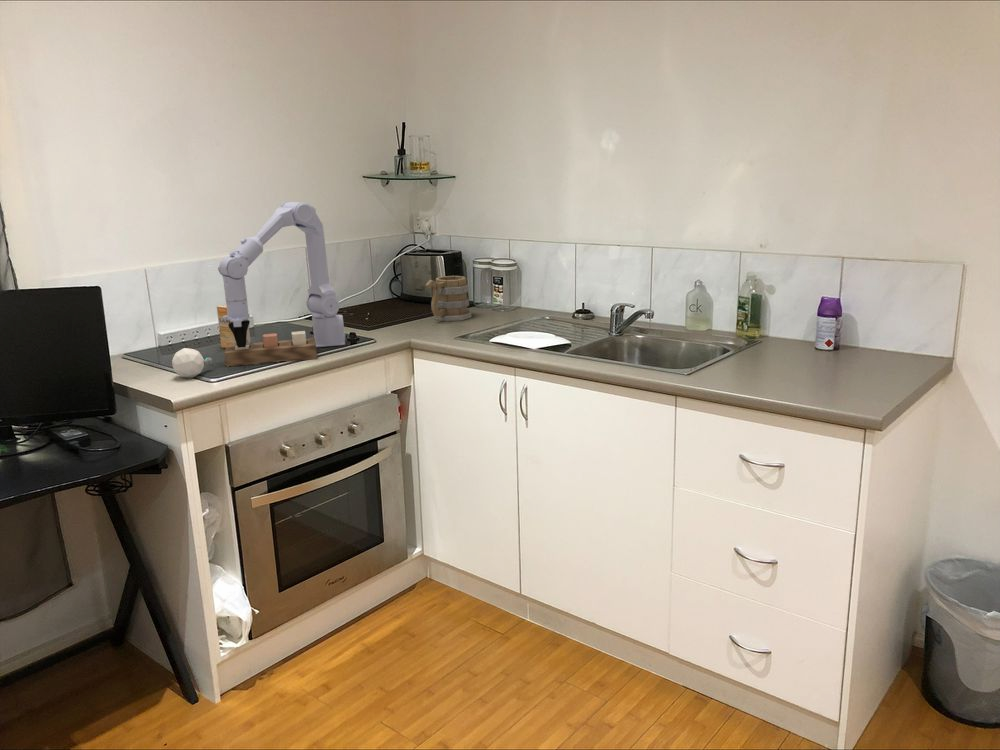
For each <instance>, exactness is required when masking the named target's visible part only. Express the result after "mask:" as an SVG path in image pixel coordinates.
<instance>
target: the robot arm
mask: <svg viewBox="0 0 1000 750" xmlns="http://www.w3.org/2000/svg"><path fill="white" fill-rule="evenodd" d="M291 226H295V227H297V228H298V229H299V230H300V231H301V232H303V233H304V235H305V243H306V251H307V261H308V269H309V270H308V271H309V277H310V278H309V279H310V286H309V288H308V289H307V298H306V307H307V310H308V311H309V312H310V313H311V321H312V322H311V323H312V329H313V330H312V333H313V338H315V342H316V348H324V347H336V346H345V345H346V332H345V325H344V318H343V317H344V316H343V315H342V314H337V313H338V312H339V309H340V301H339V299H338V298H337V295H336V291H335V289H334V288H333V286H332V284H330V278H329V268H328V258H327V257H328V256H327V250H326V239H325V231H324V225H323V222H322V221H321V219H320V217H319V216H318V214H317V209H316V207H314V206H313V205H311V204H310V203H309V202H306V201H301V202H297V201H285V202H283V203H282V204H281V205H280V206H279V207H277V208H276V209H275V211H274V212H273V214H272V215H271V217H269V219H268V220H267V221H266V222H265V223H264V225H263V226H262V227H261V228H260V229H259V230H258V232H257V233H256V234H255V235H253V236H247V237H246V238H242V239H241V240H240V244H239V245H238V246H237V247H236V248H235V249H234V250H233V251H232V250H231V251H230V252H229V256H224V257H223V258H222V259H221V260H220V262H219V265H218V267H217V270H218V273H219V274H220V275H221V276H222V279H223V287H224V288H223V289H224V297H225V304H226V307H227V316H223V319H228V320H230V321H232V322H231V323H229V324H228V326H229V328H230V329H231V331H232V333H233V335H234V337H235V341H236V344H237V346H238V348H239V347H246V338H247V329H248V326H249V327H250V320H249V319H250V313H249V305H248V297H247V296H248V295H247V287H246V280H245V276H247V273H248V270H249V269H248V268H249V267H250V266H251V264H253V262H255V261H256V260H257V259H258V258H259V256H261V255H262V253H263V252H264V245H265V244H266V243H267V242H268V241H269V240H271V239H272V238H273V237H274V236H275V235H276V234H277V233H279V231H281V229H282V228H285V227H291ZM246 319H248V320H246Z"/></svg>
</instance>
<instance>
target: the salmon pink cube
mask: <svg viewBox="0 0 1000 750" xmlns="http://www.w3.org/2000/svg"><path fill="white" fill-rule="evenodd" d="M278 341H279V340H278V333H277V332H276V333H264V334H263V335H262V342H264V348H266V347H278Z"/></svg>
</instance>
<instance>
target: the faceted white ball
mask: <svg viewBox="0 0 1000 750" xmlns="http://www.w3.org/2000/svg"><path fill="white" fill-rule="evenodd" d="M171 363H172V368H173V370H174V372H175V373H176V375H178V376H180V377H182V378H188V379H189V378H191V379H192V378H194V377H196V376H197V375H200V374H201V372H202V371H203V369H204V367H205V366H208V365H211V364H213V359H212V357H206V358H205V359H204V358H203V355H202V354H201V353H200V351H199V350H196V349H195V348H194V349H193V348H185V347H183V348H181V349H180V350H177V352H175V353H174V355H173V358H172V360H171Z"/></svg>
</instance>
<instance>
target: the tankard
mask: <svg viewBox="0 0 1000 750" xmlns="http://www.w3.org/2000/svg"><path fill="white" fill-rule="evenodd" d="M425 287H426V289H431V288H432V295H431V297H432V298H431V302H430V305H431V308H430V309H431V312H432V314H433V317H434V319H435V320H436V321H441V322H459V321H460V322H461V321H465V320H468V319H471V318H472V312H471V311H470V309H468V307H469V306H470V299H469V298H468V295H467V294H468V293H469V285H468V283H467V277H465V276H464V275H463V276H461V275H447V276H446V275H444V276H439V277H436V278H435V280H433V279H429V280H428V281H427V282H426V284H425Z"/></svg>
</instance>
